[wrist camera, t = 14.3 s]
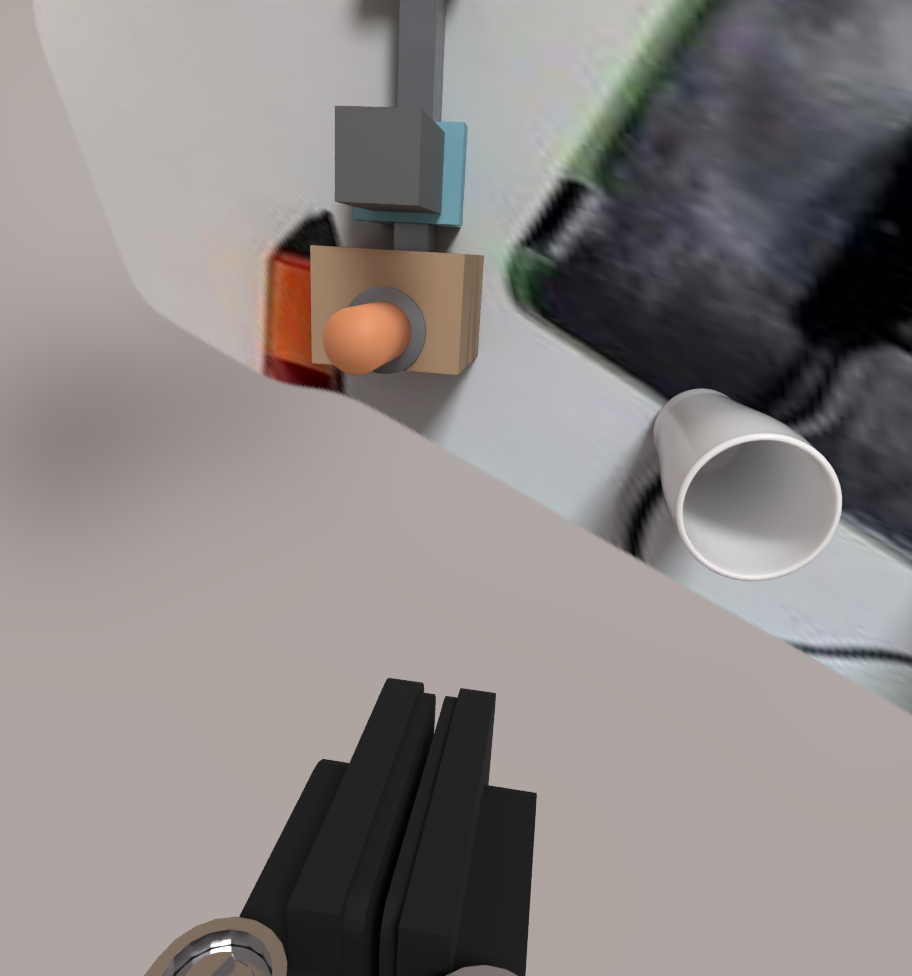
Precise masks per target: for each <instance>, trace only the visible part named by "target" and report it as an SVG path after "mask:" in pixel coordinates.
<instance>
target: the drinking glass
mask: <svg viewBox="0 0 912 976" xmlns="http://www.w3.org/2000/svg"><path fill="white" fill-rule="evenodd" d="M653 437H654V443H655V447H656V449H657V452H658V459H659V467H660V475H661V484H662V490H663V495H664V500H665V503H666V507H667V510H668V513H669V515H670V518H671V520H672V522H673V524H674V527H675V529H676V531H677V532H678V534H679V536H680V538H681V540H682V542H683V543H684V545H685V547H686V548H687V550H688V551H689V552H690V554H691V555H692V556H693V557H694V558H695V559H696V560H697V561H698V562H699V563H701V564H702V565H703V566H705V567H706V568H708V569H709V570H711V571H713V572H715V573H717V574H719V575H722V576H725V577H728V578H732V579H736V580H743V581H763V580H770V579H775V578H779V577H782V576H785V575H788V574H790V573H792V572H795V571H797V570H798V569H800V568H802V567H804V566H805V565H807V564H808V563H810V562H811V561H812V560H813V559H815V558H816V557H817V556H818V555H819V554H820V553H821V552H822V551H823V550H824V548H825V547H826V546H827V545H828V543H829V542H830V540H831V539H832V537H833V535H834V533H835V531H836V529H837V527H838V524H839V520H840V516H841V511H842V493H841V488H840V484H839V481H838V478H837V475H836V474H835V472H834V470H833V468H832V466H831V465H830V464H829V462H828V461H827V460H826V459H825V457H824V456H823V455H822V454H820V453H819V452H818V451H817V450H816V449H815V448H814V447H813V446H812V445H811V444H810V443H809V442H808V441H807V440H806V439H805V438H803V437H802V436H801V435H800V434H798V433H797V432H796V431H794V430H793V429H791V428H790V427H789V426H787V425H785V424H784V423H782V422H780V421H779V420H777V419H775V418H773V417H770V416H768V415H766V414H764V413H762V412H759V411H757V410H754V409H752V408H750V407H747V406H745V405H742V404H740V403H738V402H736V401H733V400H732V399H730V398H729V397H728V396H726V395H724V394H723V393H720V392H718V391H715V390H711V389H692V390H688V391H685V392H682V393H680V394H678V395H676V396H675V397H673V398H672V399H671V400H669V401H668V402H667V403H666V404H665V405H664V406H663V408H662V409H661V410H660V412H659V414H658V416H657V418H656V421H655V424H654V431H653Z"/></svg>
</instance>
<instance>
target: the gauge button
mask: <svg viewBox="0 0 912 976" xmlns="http://www.w3.org/2000/svg"><path fill="white" fill-rule="evenodd" d="M411 334H412V331H411V324H410V321H409V319H408V317H407V315H406V314H405V312H404V311H403V310H402V309H401V308H400V307H398V306H397V305H395V304H393V303H390V302H386V301H379V302H373V303H368V304H363V305H358V306H353V307H348V308H344V309H342V310H339V311H338V312H336V313H335V314H334V315H332V316H331V318H330V319H329V320H328V322H327V324H326V326H325V329H324V333H323V345H324V349H325V352H326V355H327V357H328V358H329V360H330V361H331V362H332V364H333V365H334V366H335V367H337V368H338V369H339V370H341V371H343V372H345V373H348V374H353V375H362V374H366V373H369V372H371V371H373V370H375V369H376V368H378V367H380V366H382V365H384V364H386V363H387V362H389V361H391V360H393V359H395V358H397V357H398V356H400V355H401V354H402V353H403V352H404V351H405V350H406V349H407V347H408V345H409V343H410V340H411Z"/></svg>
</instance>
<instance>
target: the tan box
mask: <svg viewBox="0 0 912 976" xmlns="http://www.w3.org/2000/svg"><path fill="white" fill-rule="evenodd" d="M310 252H311V333H312V363H317V364H329V365H333V364H332V362H331V361H330V360H329V358H328V357H327V355H326V352H325V349H324V345H323V333H324V329H325V326H326V324H327V322H328V320H329V319H330V318H331V316H332V315H334V314H335V313H336V312H338V311H339V310H342V309H344V308H348V307H353V306H358V305H363V304H368V303H373V302H379V301H386V302H390V303H393V304H395V305H397V306H398V307H400V308H401V309H402V310H403V311H404V312H405V314H406V315H407V317H408V319H409V321H410V324H411V331H412V334H411V340H410V343H409V345H408V347H407V349H406V350H405V351H404V352H403V353H402V354H401V355H400V356H398V357H397V358H395V359H393V360H391V361H389V362H387V363H386V364H384V365H382V366H380V367H378V368H376V369H375V370H373V372H376V373H382V374H389V373H395V372H398V371H401V370H403V371H416V372H428V373H440V374H453V375H459V374H460V373H461V372H462V371H463V370H464V369H465V368H466V367H467V366H468V365H469V364H470V363H471V362H472V361H473V360H474V359H475V358H476V357H477V356H478V340H479V325H480V309H481V294H482V278H483V263H484V256H481V255H468V254H452V253H435V252H418V251H400V250H383V249H366V248H348V247H331V246H313V245H310Z"/></svg>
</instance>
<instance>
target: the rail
mask: <svg viewBox="0 0 912 976" xmlns="http://www.w3.org/2000/svg"><path fill="white" fill-rule="evenodd" d="M445 15H446V0H400V6H399V48H398V89H397V108H422V109H423V110H424V111H425V112H426V113H427V114H428V115H429V116H430V117H431V119H432V120H433V121H435V122H441V109H442V85H443V62H444V39H445ZM435 249H436V225H433V224H416V223H397V222H394V250H400V251H418V252H435Z"/></svg>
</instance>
